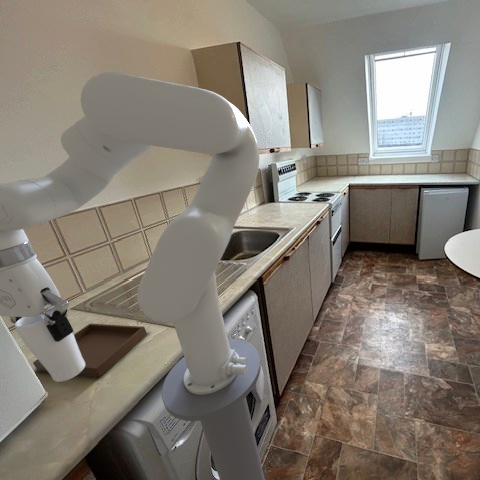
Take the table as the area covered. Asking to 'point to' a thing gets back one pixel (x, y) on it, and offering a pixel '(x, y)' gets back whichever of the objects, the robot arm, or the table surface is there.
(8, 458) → the table surface
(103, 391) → the table surface
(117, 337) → the tray
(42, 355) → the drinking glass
